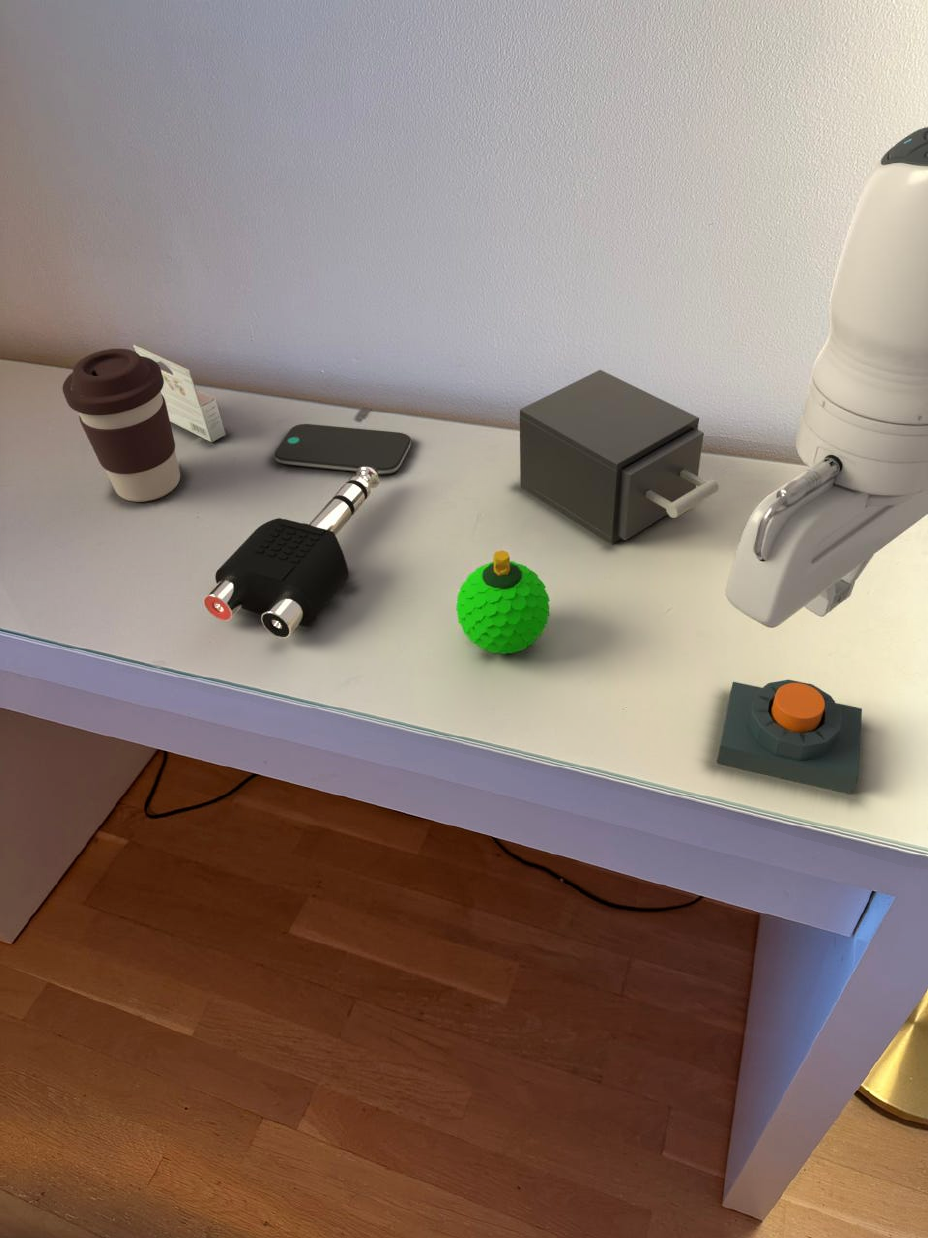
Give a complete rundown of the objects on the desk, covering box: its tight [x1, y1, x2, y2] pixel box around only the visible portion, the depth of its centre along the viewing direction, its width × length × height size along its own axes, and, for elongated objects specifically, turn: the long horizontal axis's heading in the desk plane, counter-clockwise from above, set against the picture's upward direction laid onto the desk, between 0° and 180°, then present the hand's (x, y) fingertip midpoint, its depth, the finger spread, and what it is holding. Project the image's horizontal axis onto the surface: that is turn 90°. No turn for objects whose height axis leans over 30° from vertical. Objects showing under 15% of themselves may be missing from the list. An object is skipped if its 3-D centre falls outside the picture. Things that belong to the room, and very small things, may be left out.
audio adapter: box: [203, 466, 380, 639], centre depth 92 cm, size 11×5×25 cm
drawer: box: [616, 428, 720, 541], centre depth 94 cm, size 17×10×8 cm, turn 40°
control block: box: [716, 679, 863, 795], centre depth 72 cm, size 10×7×4 cm
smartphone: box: [274, 423, 412, 475], centre depth 107 cm, size 8×1×15 cm
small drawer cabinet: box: [519, 369, 700, 545], centre depth 96 cm, size 14×12×10 cm
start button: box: [771, 683, 825, 733], centre depth 71 cm, size 4×4×2 cm
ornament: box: [455, 549, 551, 655], centre depth 80 cm, size 8×8×10 cm
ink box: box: [132, 344, 226, 443], centre depth 110 cm, size 2×11×10 cm, turn 50°
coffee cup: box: [61, 348, 181, 503], centre depth 100 cm, size 10×10×15 cm
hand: (825, 602), depth 63 cm, fingers closed
